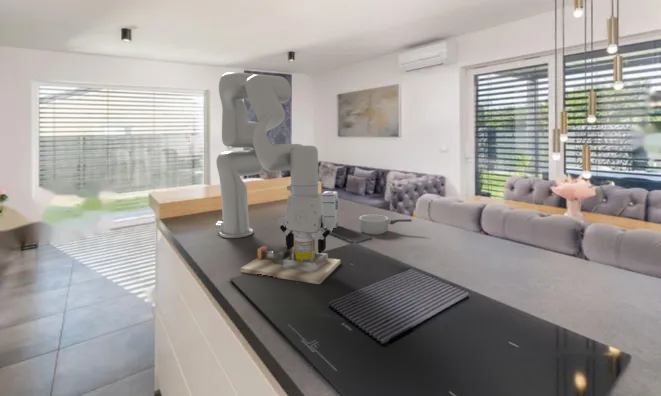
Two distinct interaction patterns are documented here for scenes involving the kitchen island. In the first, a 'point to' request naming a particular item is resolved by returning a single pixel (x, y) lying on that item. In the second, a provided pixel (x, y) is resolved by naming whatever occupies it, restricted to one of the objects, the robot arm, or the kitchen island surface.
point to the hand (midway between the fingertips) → (305, 249)
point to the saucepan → (377, 223)
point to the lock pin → (265, 253)
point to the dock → (293, 266)
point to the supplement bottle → (305, 247)
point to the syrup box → (330, 206)
